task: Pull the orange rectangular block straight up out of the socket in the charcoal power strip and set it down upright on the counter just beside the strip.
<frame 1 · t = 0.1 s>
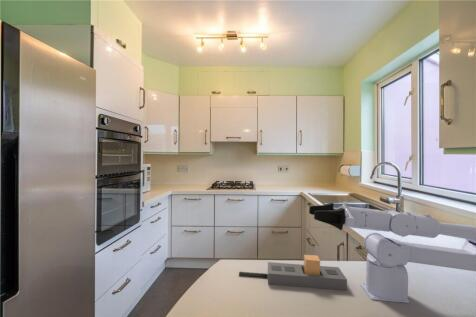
hand: (311, 212, 71), 21 cm above the worktop, tool horizontal, fingers open, 7 cm apart
orange rectangular block: (311, 280, 74), resting in power strip
power strip: (304, 280, 75), on the worktop
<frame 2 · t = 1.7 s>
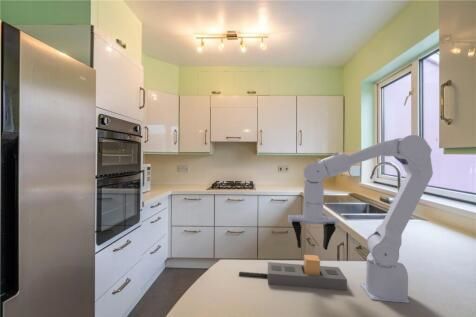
hand: (312, 247, 74), 10 cm above the worktop, tool pointing down, fingers open, 7 cm apart
nothing on the worktop moved.
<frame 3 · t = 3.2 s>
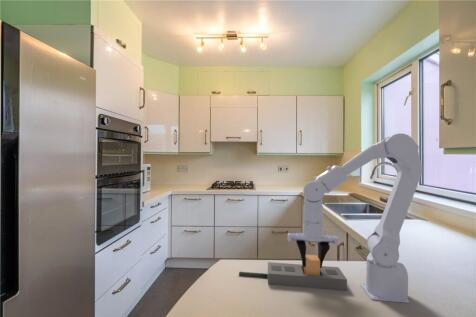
hand: (311, 266, 74), 4 cm above the worktop, tool pointing down, fingers closed on orange rectangular block, 4 cm apart
orange rectangular block: (311, 280, 74), resting in power strip, touching gripper
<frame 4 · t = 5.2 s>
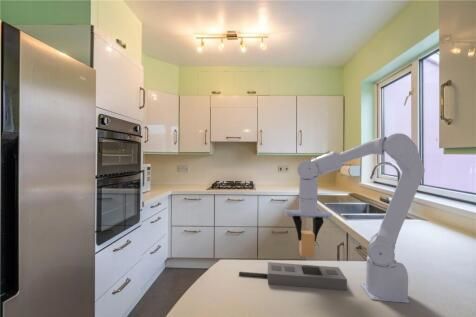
hand: (306, 239, 80), 10 cm above the worktop, tool pointing down, fingers closed on orange rectangular block, 4 cm apart
orange rectangular block: (306, 254, 80), point 6 cm above the worktop, touching gripper
when the fingers open (6 cm above the worktop, at t = 7.1 s): orange rectangular block drops 1 cm, on the worktop.
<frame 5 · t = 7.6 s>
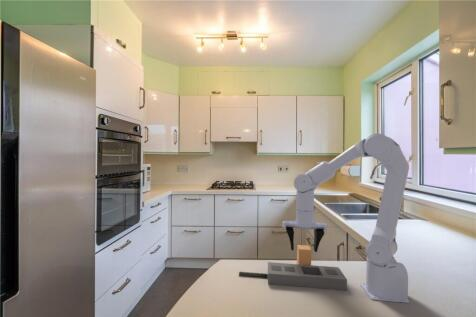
hand: (303, 250, 83), 6 cm above the worktop, tool pointing down, fingers open, 7 cm apart
orange rectangular block: (303, 268, 83), on the worktop
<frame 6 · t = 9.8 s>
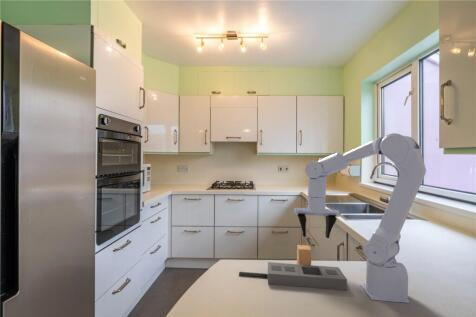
hand: (315, 236, 84), 10 cm above the worktop, tool pointing down, fingers open, 7 cm apart
nothing on the worktop moved.
at the end: orange rectangular block inside the target area (0.4 cm from its centre), on the worktop; orange rectangular block tilted 0°; the gripper is holding nothing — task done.
